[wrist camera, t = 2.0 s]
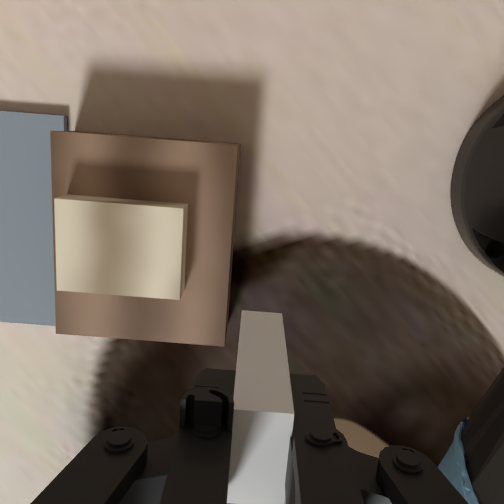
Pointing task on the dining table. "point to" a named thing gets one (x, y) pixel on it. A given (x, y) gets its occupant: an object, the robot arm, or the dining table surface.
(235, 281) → the dining table surface
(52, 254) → the rubber mat
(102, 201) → the birch tile
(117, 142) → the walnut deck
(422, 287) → the dining table surface
